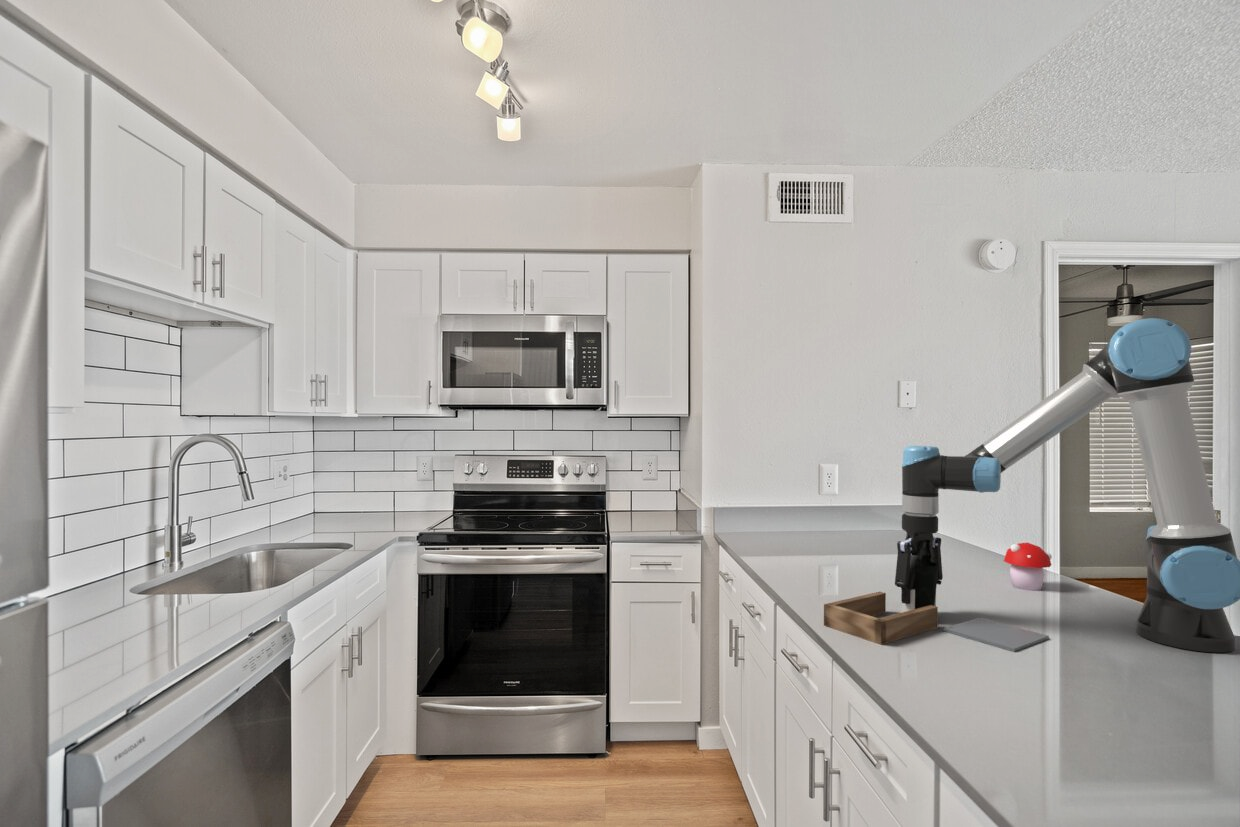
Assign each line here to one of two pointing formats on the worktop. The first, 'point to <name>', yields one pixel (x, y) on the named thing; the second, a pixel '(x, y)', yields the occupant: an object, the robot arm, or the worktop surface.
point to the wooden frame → (877, 619)
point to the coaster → (996, 634)
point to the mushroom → (1027, 565)
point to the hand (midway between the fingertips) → (918, 614)
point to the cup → (925, 584)
